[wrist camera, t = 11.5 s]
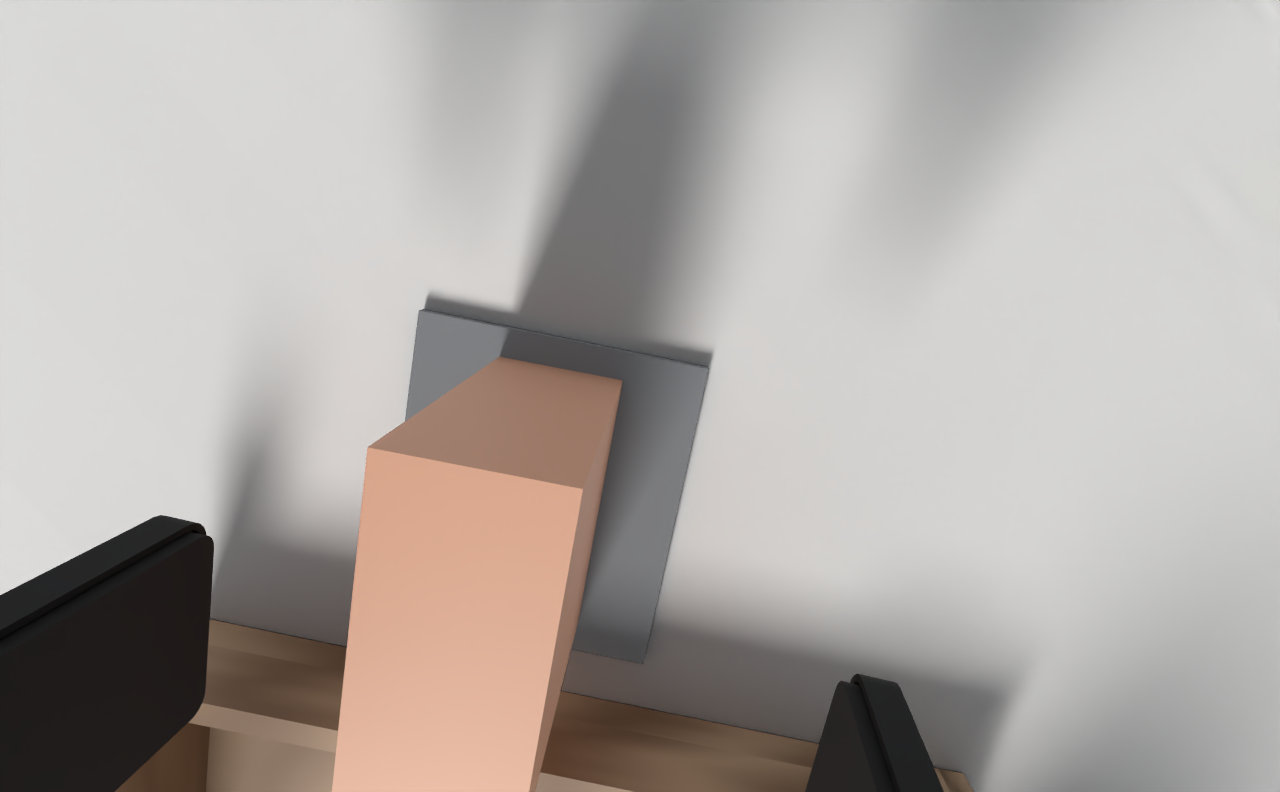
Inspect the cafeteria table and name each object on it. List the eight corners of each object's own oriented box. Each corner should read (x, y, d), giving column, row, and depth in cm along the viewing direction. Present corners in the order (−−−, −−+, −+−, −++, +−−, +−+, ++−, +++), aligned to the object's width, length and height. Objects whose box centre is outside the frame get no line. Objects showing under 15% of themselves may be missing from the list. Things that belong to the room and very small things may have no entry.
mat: (708, 366, 17) (708, 369, 17) (643, 657, 19) (643, 664, 19) (423, 309, 17) (419, 310, 17) (385, 604, 19) (381, 610, 19)
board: (622, 380, 17) (582, 489, 10) (578, 621, 19) (514, 873, 11) (499, 356, 17) (367, 447, 10) (464, 599, 19) (326, 836, 11)
